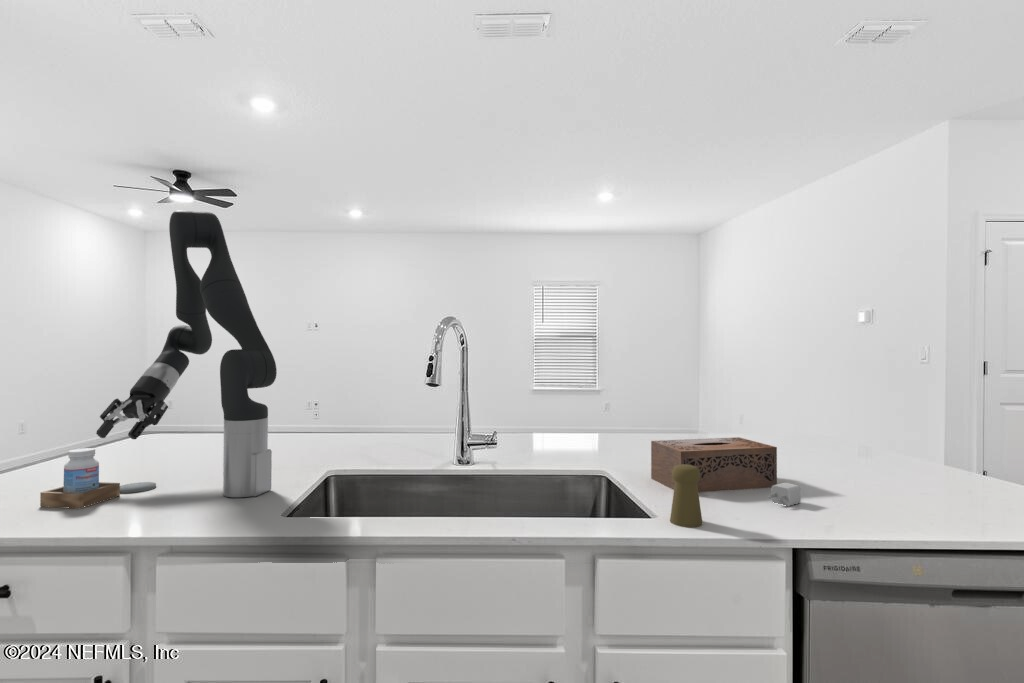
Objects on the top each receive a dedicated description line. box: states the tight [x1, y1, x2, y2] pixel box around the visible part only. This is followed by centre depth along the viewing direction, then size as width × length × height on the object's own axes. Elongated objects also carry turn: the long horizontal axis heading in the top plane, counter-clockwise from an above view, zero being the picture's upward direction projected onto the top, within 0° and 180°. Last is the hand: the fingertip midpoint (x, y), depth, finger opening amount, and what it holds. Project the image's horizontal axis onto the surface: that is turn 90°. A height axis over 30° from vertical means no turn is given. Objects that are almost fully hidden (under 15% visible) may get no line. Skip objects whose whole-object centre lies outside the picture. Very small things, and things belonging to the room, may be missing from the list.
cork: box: [669, 464, 703, 528], centre depth 105 cm, size 6×6×11 cm
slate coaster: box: [120, 481, 157, 494], centre depth 128 cm, size 8×8×1 cm
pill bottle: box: [62, 447, 100, 493], centre depth 118 cm, size 6×6×11 cm
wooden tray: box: [39, 481, 121, 509], centre depth 118 cm, size 10×10×3 cm
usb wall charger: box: [768, 482, 802, 507], centre depth 117 cm, size 4×7×4 cm, turn 122°
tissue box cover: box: [650, 436, 778, 493], centre depth 135 cm, size 26×14×10 cm, turn 103°
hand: (115, 436), depth 127 cm, fingers open, 8 cm apart
